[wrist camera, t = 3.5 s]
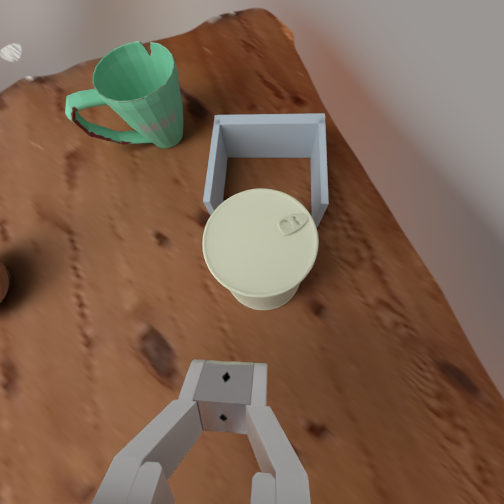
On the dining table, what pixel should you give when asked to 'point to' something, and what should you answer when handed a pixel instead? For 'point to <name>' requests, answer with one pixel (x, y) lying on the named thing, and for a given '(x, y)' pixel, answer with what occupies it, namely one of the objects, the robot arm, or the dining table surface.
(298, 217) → the can
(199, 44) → the dining table surface
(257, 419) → the robot arm
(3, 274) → the onion
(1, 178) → the dining table surface
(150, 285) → the dining table surface
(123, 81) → the mug
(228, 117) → the holder
